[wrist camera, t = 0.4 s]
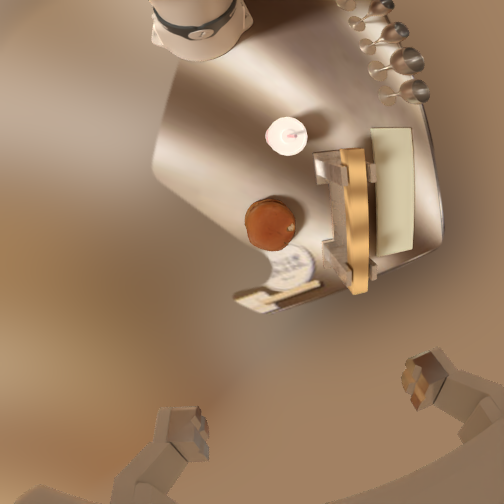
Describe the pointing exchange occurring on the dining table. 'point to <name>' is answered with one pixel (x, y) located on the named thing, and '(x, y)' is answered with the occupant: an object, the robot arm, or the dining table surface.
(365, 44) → the goblet set
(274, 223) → the burger
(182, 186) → the dining table surface
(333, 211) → the rack
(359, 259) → the bar
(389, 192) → the mat
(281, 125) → the beverage cup
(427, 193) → the dining table surface
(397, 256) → the dining table surface
